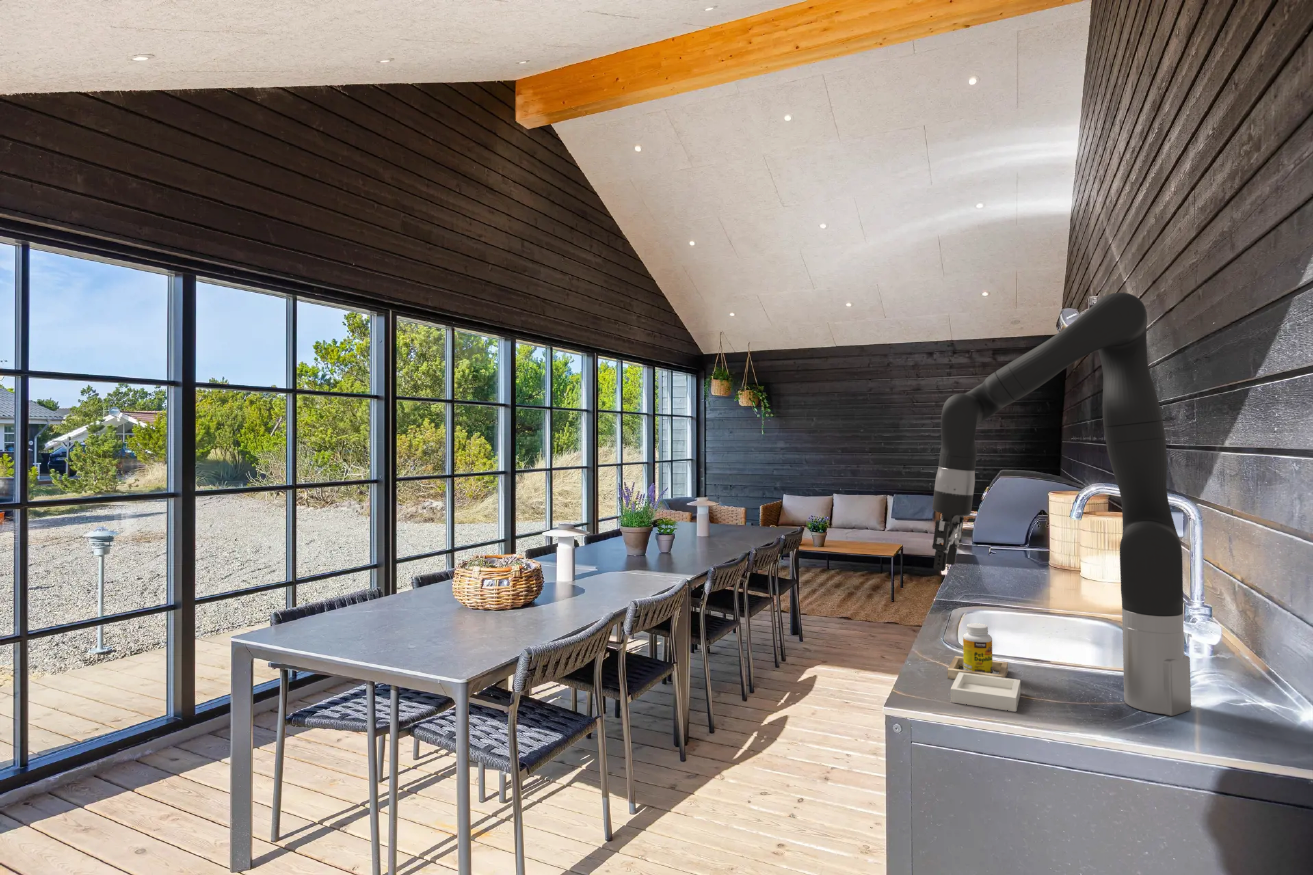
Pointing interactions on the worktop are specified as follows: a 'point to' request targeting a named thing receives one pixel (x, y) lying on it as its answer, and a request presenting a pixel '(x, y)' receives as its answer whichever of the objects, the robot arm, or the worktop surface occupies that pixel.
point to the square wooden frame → (959, 661)
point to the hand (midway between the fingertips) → (944, 567)
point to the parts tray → (986, 691)
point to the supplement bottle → (977, 649)
